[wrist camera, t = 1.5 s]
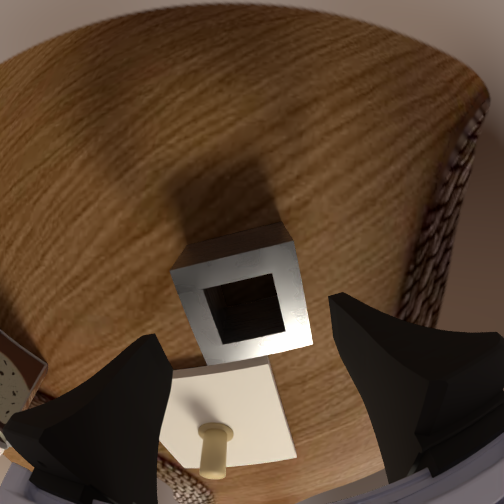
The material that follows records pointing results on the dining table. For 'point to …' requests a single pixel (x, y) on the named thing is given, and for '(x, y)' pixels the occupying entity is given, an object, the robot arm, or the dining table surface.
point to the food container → (17, 380)
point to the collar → (246, 314)
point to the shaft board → (226, 417)
